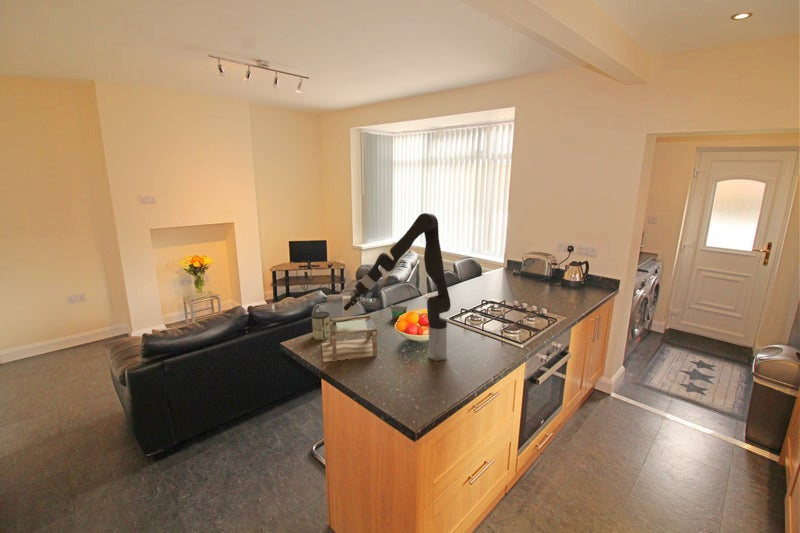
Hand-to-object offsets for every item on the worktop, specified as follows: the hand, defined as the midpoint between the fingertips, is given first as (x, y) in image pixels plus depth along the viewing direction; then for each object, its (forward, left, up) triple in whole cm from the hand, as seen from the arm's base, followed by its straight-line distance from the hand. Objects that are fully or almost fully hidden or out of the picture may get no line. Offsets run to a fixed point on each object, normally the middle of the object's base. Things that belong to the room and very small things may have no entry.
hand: (344, 307), depth 196 cm
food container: (+36, -37, -24) cm, 57 cm away
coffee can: (+22, +13, -24) cm, 35 cm away
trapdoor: (-1, -6, -14) cm, 15 cm away
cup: (+36, -63, -24) cm, 77 cm away
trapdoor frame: (-1, -1, -24) cm, 24 cm away
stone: (0, -2, -4) cm, 5 cm away
